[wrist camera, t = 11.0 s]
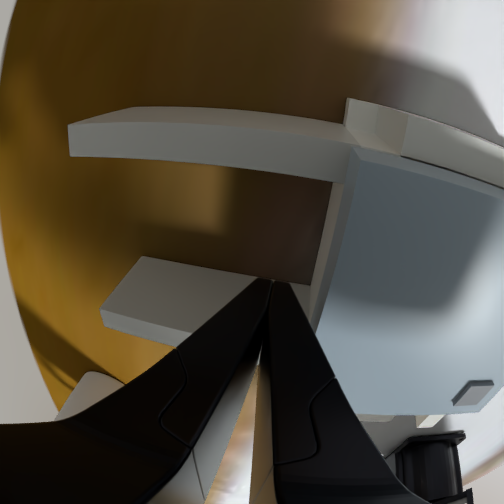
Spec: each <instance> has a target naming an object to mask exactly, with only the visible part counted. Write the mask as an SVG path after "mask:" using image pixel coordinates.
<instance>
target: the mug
mask: <svg viewBox="0 0 504 504" xmlns="http://www.w3.org/2000/svg"><path fill="white" fill-rule="evenodd" d="M123 386H124V384H123V383H121V382H119V381H118V380H116V379H114V378H112V377H110V376H108V375H105V374H102V373H99V372H93V371H91V372H87V373H85V374H84V375H83V377H82V378H81V380H80V381H79V383H78V384H77V386H76V387H75V389H74V390H73V391H72V393H71V394H70V396H69V397H68V399H67V401H66V402H65V404H64V405H63V407H62V409H61V410H60V412H59V413H58V415H57V417H56V418H55V420H54V421H58V420H62V419H65V418H68V417H71V416H73V415H75V414H78V413H80V412H81V411H83V410H85V409H87V408H88V407H90V406H92V405H93V404H95V403H97V402H98V401H100V400H102V399H103V398H105V397H106V396H108V395H110V394H111V393H113V392H115V391H116V390H118V389H119V388H121V387H123Z"/></svg>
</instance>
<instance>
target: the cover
mask: <svg viewBox="0 0 504 504" xmlns="http://www.w3.org/2000/svg"><path fill="white" fill-rule="evenodd" d="M310 324H311V326H312V328H313V330H314V332H315V335H316V337H317V339H318V341H319V343H320V345H321V347H322V349H323V351H324V353H325V355H326V357H327V359H328V361H329V363H330V365H331V367H332V369H333V371H334V373H335V376H336V377H335V378H337V379H338V381H339V383H340V386H341V388H342V390H343V392H344V394H345V396H346V398H347V400H348V401H349V403H350V405H351V407H352V409H353V411H354V412H355V414H373V415H445V414H461V413H474V412H479V411H480V410H481V409H482V408H483V407H484V406H485V405H486V404H487V403H488V402H489V401H490V400H491V399H492V398H493V397H494V396H495V395H496V394H497V392H498V391H499V390H500V389H501V388H502V387H503V386H504V190H503V189H500V188H498V187H495V186H492V185H490V184H487V183H484V182H481V181H478V180H475V179H473V178H470V177H467V176H464V175H461V174H457V173H454V172H451V171H448V170H445V169H441V168H438V167H435V166H431V165H428V164H424V163H421V162H417V161H413V160H410V159H406V158H402V157H398V156H394V155H390V154H386V153H381V152H377V151H373V150H368V149H364V148H359V147H354V146H352V147H351V152H350V158H349V163H348V168H347V173H346V178H345V183H344V188H343V193H342V198H341V202H340V207H339V212H338V216H337V221H336V225H335V229H334V234H333V238H332V242H331V246H330V250H329V254H328V258H327V262H326V266H325V270H324V274H323V278H322V282H321V285H320V289H319V293H318V297H317V300H316V304H315V307H314V311H313V315H312V318H311V321H310Z"/></svg>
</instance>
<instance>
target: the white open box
mask: <svg viewBox="0 0 504 504" xmlns="http://www.w3.org/2000/svg"><path fill="white" fill-rule="evenodd" d="M68 138H69V151H70V157H112V158H134V159H151V160H165V161H178V162H189V163H200V164H210V165H219V166H228V167H237V168H245V169H253V170H260V171H267V172H275V173H281V174H288V175H294V176H301V177H307V178H313V179H319V180H324V181H330V182H333V184H332V189H331V195H330V200H329V205H328V209H327V214H326V219H325V224H324V229H323V233H322V238H321V242H320V247H319V251H318V256H317V260H316V264H315V269H314V273H313V277H312V281H311V285H310V286H309V285H303V284H296V283H290V282H289V283H290V284H291V286H292V288H293V290H294V292H295V294H296V296H297V298H298V300H299V302H300V304H301V306H302V308H303V310H304V312H305V314H306V316H307V318H308V320H309V322H310V321H311V318H312V315H313V311H314V307H315V304H316V300H317V297H318V293H319V289H320V285H321V282H322V278H323V274H324V270H325V266H326V262H327V258H328V254H329V250H330V246H331V242H332V238H333V234H334V229H335V225H336V221H337V216H338V212H339V207H340V202H341V198H342V193H343V188H344V183H345V178H346V173H347V168H348V163H349V158H350V152H351V147H352V146H354V147H359V148H364V149H368V150H373V151H377V152H381V153H386V154H390V155H394V156H398V157H402V158H406V159H410V160H413V161H417V162H421V163H424V164H428V165H431V166H435V167H438V168H441V169H445V170H448V171H451V172H454V173H457V174H461V175H464V176H467V177H470V178H473V179H475V180H478V181H481V182H484V183H487V184H490V185H492V186H495V187H498V188H500V189H503V190H504V147H502V146H499V145H497V144H495V143H493V142H490V141H488V140H485V139H483V138H481V137H478V136H476V135H473V134H471V133H468V132H465V131H463V130H460V129H457V128H455V127H452V126H449V125H446V124H443V123H440V122H438V121H434V120H431V119H428V118H425V117H422V116H419V115H415V114H412V113H409V112H405V111H401V110H398V109H394V108H390V107H387V106H383V105H379V104H374V103H370V102H366V101H361V100H357V99H352V98H347V101H346V107H345V114H344V121H343V124H339V123H333V122H328V121H322V120H316V119H310V118H304V117H297V116H290V115H283V114H275V113H266V112H257V111H247V110H235V109H221V108H203V107H161V106H159V107H131V108H127V109H122V110H118V111H114V112H110V113H106V114H103V115H99V116H95V117H92V118H88V119H85V120H82V121H78V122H75V123H72V124H69V125H68ZM256 278H258V277H255V276H249V275H243V274H238V273H232V272H226V271H221V270H215V269H210V268H204V267H199V266H193V265H188V264H183V263H177V262H172V261H167V260H161V259H156V258H151V257H146V256H141V258H140V259H139V260H138V261H137V262H136V264H135V265H134V266H133V267H132V268H131V270H130V271H129V272H128V273H127V274H126V276H125V277H124V278H123V279H122V280H121V282H120V283H119V284H118V285H117V287H116V288H115V289H114V290H113V292H112V293H111V294H110V295H109V297H108V298H107V299H106V300H105V302H104V303H103V304H102V306H101V307H100V308H99V310H100V313H101V316H102V320H103V323H104V326H105V327H108V328H111V329H114V330H118V331H121V332H124V333H128V334H131V335H134V336H138V337H141V338H145V339H148V340H152V341H156V342H159V343H163V344H167V345H171V346H175V347H177V346H178V345H179V344H180V343H181V342H183V341H184V340H185V339H186V338H187V337H189V336H190V335H191V334H192V333H193V332H194V331H196V330H197V329H198V328H199V327H200V326H202V325H203V324H204V323H205V322H206V321H207V320H209V319H210V318H211V317H212V316H213V315H214V314H216V313H217V312H218V311H219V310H220V309H221V308H223V307H224V306H225V305H226V304H227V303H228V302H229V301H231V300H232V299H233V298H234V297H235V296H236V295H238V294H239V293H240V292H241V291H242V290H243V289H244V288H246V287H247V286H248V285H249V284H250V283H251V282H252V281H254V280H255V279H256ZM260 278H261V277H260ZM266 279H267V278H266ZM271 280H272V281H273V282H274V281H275V280H273V279H271ZM260 352H261V351H260ZM259 358H260V356H259ZM257 365H259V360H258V363H257ZM356 416H357V417H358V419H359V421H365V422H390V421H391V420H392V419H393V418H394V417H395V416H396V415H373V414H356ZM443 416H444V415H415V419H416V426H417V428H429V427H433V426H434V425H435V424H436V423H437V422H438V421H439V420H440V419H441V418H442V417H443Z"/></svg>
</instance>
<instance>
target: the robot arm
mask: <svg viewBox="0 0 504 504" xmlns="http://www.w3.org/2000/svg"><path fill="white" fill-rule="evenodd" d="M260 351H261V352H260ZM259 356H260V358H259ZM258 360H259V367H258V382H257V398H256V414H255V429H254V443H253V458H252V472H251V485H250V498H249V504H465V503H467V504H474V503H473V493H472V488H470V489H467V490H466V491H464V492H463V487H462V478H461V470H460V463H459V456H458V450H457V445H458V444H460V443H461V442H462V441H463V440H464V439H466V435H465V433H463V434H453V435H442V436H427V437H412V438H409V439H407V440H406V441H405V442H404V443H403V444H402V445H401V446H400V447H399V448H397V449H396V450H395V451H394V452H393V453H392V454H391V455H389V456H388V457H387V458H386V459H384V458H383V456H382V455H381V453H380V452H379V450H378V449H377V447H376V446H375V444H374V442H373V441H372V439H371V438H370V436H369V435H368V433H367V432H366V430H365V429H364V427H363V425H362V424H361V422H360V421H359V419H358V417H357V416H356V414H355V412H354V411H353V409H352V407H351V405H350V403H349V401H348V400H347V398H346V396H345V394H344V392H343V390H342V388H341V386H340V383H339V381H338V379H337V378H335V377H336V376H335V373H334V371H333V369H332V367H331V365H330V363H329V361H328V359H327V357H326V355H325V353H324V351H323V349H322V347H321V345H320V343H319V341H318V339H317V337H316V335H315V332H314V330H313V328H312V326H311V324H310V322H309V320H308V318H307V316H306V314H305V312H304V310H303V308H302V306H301V304H300V302H299V300H298V298H297V296H296V294H295V292H294V290H293V288H292V286H291V284H290V283H289V282H284V281H278V280H275V281H274V282H273V281H272V280H271V279H266V278H260V277H258V278H256V279H255V280H254V281H252V282H251V283H250V284H249V285H248V286H247V287H246V288H244V289H243V290H242V291H241V292H240V293H239V294H238V295H236V296H235V297H234V298H233V299H232V300H231V301H229V302H228V303H227V304H226V305H225V306H224V307H223V308H221V309H220V310H219V311H218V312H217V313H216V314H214V315H213V316H212V317H211V318H210V319H209V320H207V321H206V322H205V323H204V324H203V325H202V326H200V327H199V328H198V329H197V330H196V331H194V332H193V333H192V334H191V335H190V336H189V337H187V338H186V339H185V340H184V341H183V342H181V343H180V344H179V345H178V346H177V347H176V349H173V350H172V351H171V352H169V353H168V354H167V355H166V356H165V357H163V358H162V359H161V360H160V361H158V362H157V363H156V364H154V365H153V366H152V367H151V368H149V369H148V370H147V371H145V372H144V373H142V374H141V375H139V376H138V377H136V378H135V379H133V380H132V381H130V382H129V383H127V384H126V385H124V386H123V387H121V388H119V389H118V390H116V391H115V392H113V393H111V394H110V395H108V396H106V397H105V398H103V399H102V400H100V401H98V402H97V403H95V404H93V405H92V406H90V407H88V408H87V409H85V410H83V411H81V412H80V413H78V414H75V415H73V416H71V417H68V418H65V419H62V420H58V421H52V422H41V423H40V422H39V423H20V424H0V504H204V501H205V500H206V498H207V495H208V493H209V490H210V488H211V485H212V483H213V481H214V478H215V476H216V473H217V471H218V468H219V466H220V463H221V461H222V458H223V455H224V453H225V450H226V448H227V445H228V443H229V440H230V437H231V435H232V432H233V430H234V427H235V424H236V422H237V419H238V416H239V414H240V411H241V408H242V405H243V403H244V400H245V397H246V395H247V392H248V389H249V386H250V384H251V381H252V378H253V375H254V372H255V369H256V366H257V363H258Z"/></svg>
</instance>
